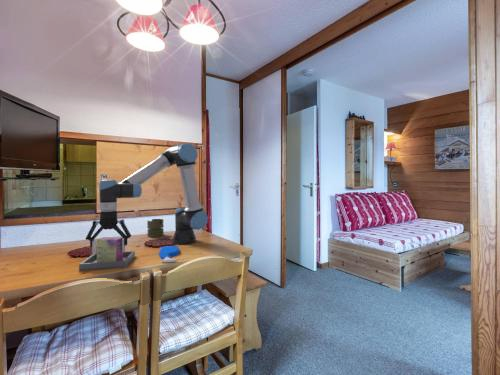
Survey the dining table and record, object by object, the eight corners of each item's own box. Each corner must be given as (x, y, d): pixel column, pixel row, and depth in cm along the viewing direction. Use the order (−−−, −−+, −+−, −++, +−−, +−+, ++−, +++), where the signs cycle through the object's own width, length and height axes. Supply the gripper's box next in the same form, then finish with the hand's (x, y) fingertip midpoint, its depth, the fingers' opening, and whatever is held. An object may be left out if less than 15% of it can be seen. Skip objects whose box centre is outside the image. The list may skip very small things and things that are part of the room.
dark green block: (144, 220, 185) (153, 218, 196) (144, 237, 186) (153, 234, 197) (157, 221, 183) (166, 219, 194) (157, 238, 183) (166, 234, 194)
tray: (134, 256, 138) (134, 251, 138) (125, 267, 121) (125, 261, 121) (94, 258, 134) (94, 253, 134) (79, 270, 117) (79, 264, 117)
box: (123, 260, 130) (122, 237, 130) (116, 263, 124) (116, 239, 124) (104, 259, 131) (103, 236, 131) (96, 263, 125) (96, 239, 125)
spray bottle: (160, 246, 150) (156, 259, 126) (179, 245, 153) (179, 257, 129) (160, 251, 150) (156, 265, 126) (179, 250, 153) (179, 263, 129)
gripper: (77, 212, 121) (78, 256, 121) (133, 210, 126) (134, 253, 126) (84, 210, 128) (84, 252, 128) (136, 209, 133) (137, 249, 134)
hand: (109, 252), depth 127 cm, fingers open, 13 cm apart
